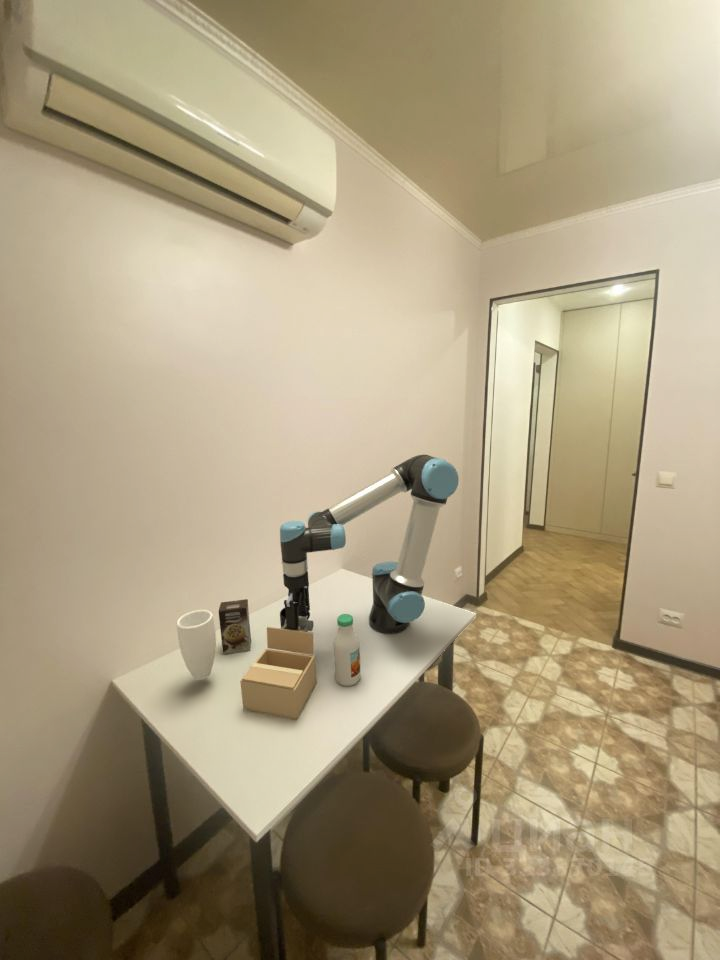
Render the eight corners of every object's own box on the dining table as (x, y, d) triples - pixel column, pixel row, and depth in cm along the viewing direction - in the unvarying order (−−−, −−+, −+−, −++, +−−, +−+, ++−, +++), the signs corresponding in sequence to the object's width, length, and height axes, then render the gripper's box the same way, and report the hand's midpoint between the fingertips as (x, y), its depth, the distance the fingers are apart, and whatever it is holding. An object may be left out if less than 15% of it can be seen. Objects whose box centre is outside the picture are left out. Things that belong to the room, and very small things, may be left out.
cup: (185, 676, 119) (176, 613, 115) (220, 667, 123) (213, 605, 119) (183, 700, 110) (173, 632, 105) (222, 689, 113) (214, 623, 109)
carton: (316, 682, 115) (314, 653, 113) (297, 720, 101) (294, 687, 100) (268, 674, 119) (265, 646, 117) (243, 709, 106) (239, 678, 104)
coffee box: (222, 655, 129) (217, 611, 126) (225, 643, 135) (220, 601, 132) (250, 651, 131) (246, 607, 127) (251, 639, 137) (247, 598, 134)
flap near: (313, 654, 113) (323, 640, 121) (312, 632, 112) (322, 620, 120) (267, 648, 117) (280, 634, 125) (266, 626, 116) (279, 615, 124)
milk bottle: (343, 690, 111) (340, 628, 107) (330, 675, 118) (327, 615, 114) (365, 679, 115) (363, 619, 111) (352, 665, 122) (349, 607, 118)
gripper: (296, 559, 127) (301, 623, 132) (270, 584, 110) (276, 656, 115) (317, 561, 125) (321, 625, 130) (294, 586, 108) (299, 660, 113)
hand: (300, 640), depth 122 cm, fingers open, 5 cm apart
